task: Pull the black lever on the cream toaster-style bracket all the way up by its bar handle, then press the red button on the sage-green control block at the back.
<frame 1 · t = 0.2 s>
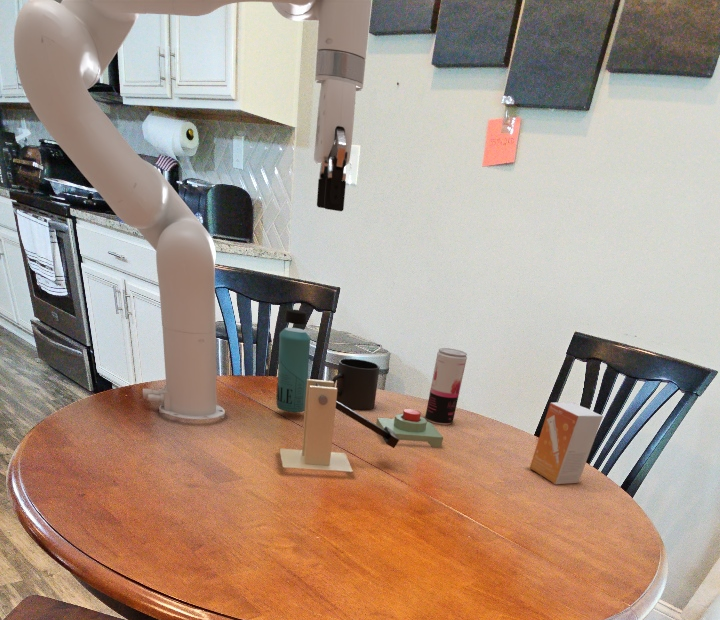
hand: (329, 209, 101), 37 cm above the table, tool pointing down, fingers open, 9 cm apart
lever: (355, 416, 99), point 9 cm above the table, hinge at -25.0°
mug: (350, 405, 138), on the table
beverage bottle: (290, 416, 126), on the table
beverage can: (438, 422, 137), on the table
button: (411, 415, 121), point 4 cm above the table, slide at 0.1 cm
small box: (553, 477, 116), on the table
control block: (407, 437, 124), on the table
bracket: (314, 466, 103), on the table
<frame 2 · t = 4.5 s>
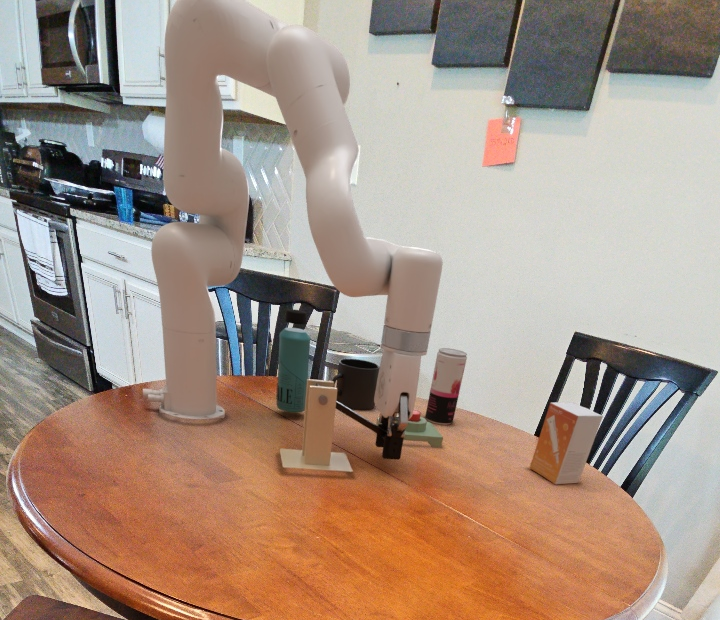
hand: (387, 451, 104), 4 cm above the table, tool pointing down, fingers closed on lever, 5 cm apart
lever: (355, 416, 99), point 9 cm above the table, hinge at -25.0°, touching gripper
everything else where it was.
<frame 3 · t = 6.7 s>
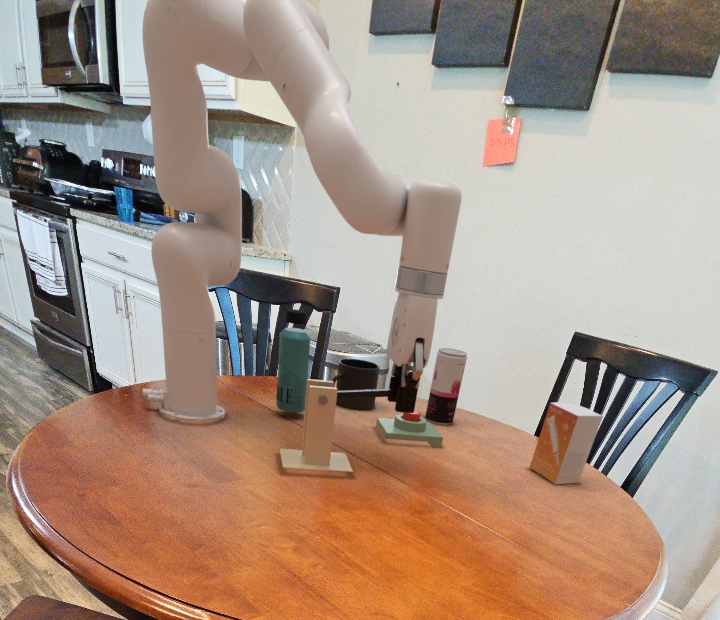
hand: (400, 405, 100), 12 cm above the table, tool pointing down, fingers closed on lever, 5 cm apart
lever: (361, 393, 97), point 13 cm above the table, hinge at 7.1°, touching gripper
everything else where it was.
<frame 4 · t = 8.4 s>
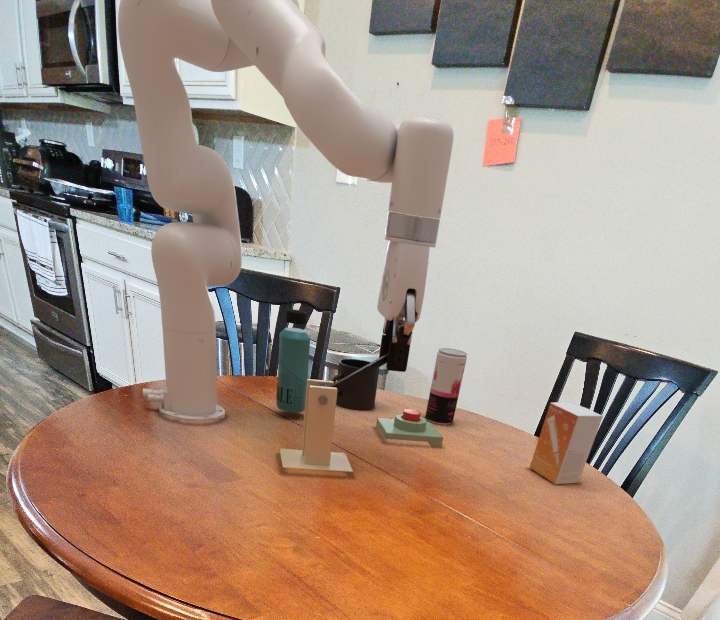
hand: (392, 365, 95), 18 cm above the table, tool pointing down, fingers closed on lever, 5 cm apart
lever: (357, 374, 95), point 16 cm above the table, hinge at 33.2°, touching gripper
everything else where it was.
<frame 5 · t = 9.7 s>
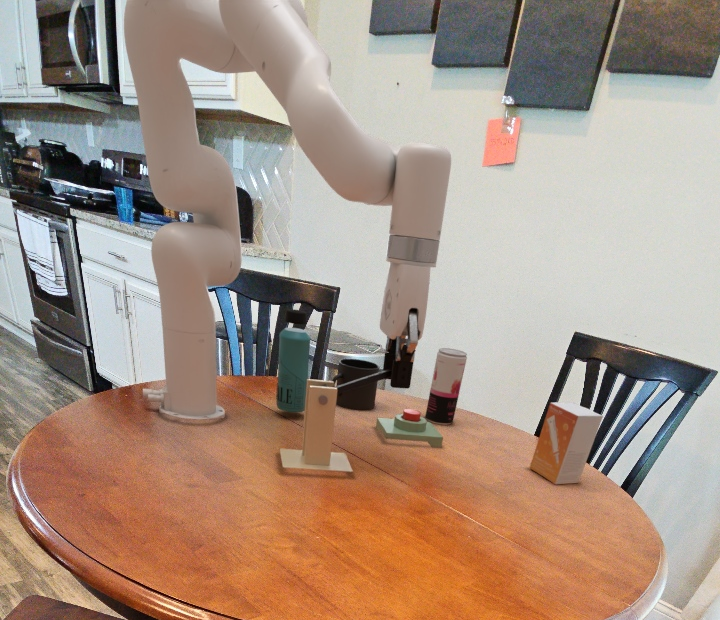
hand: (395, 382, 97), 15 cm above the table, tool pointing down, fingers closed on lever, 5 cm apart
lever: (359, 382, 96), point 15 cm above the table, hinge at 22.3°, touching gripper
everything else where it was.
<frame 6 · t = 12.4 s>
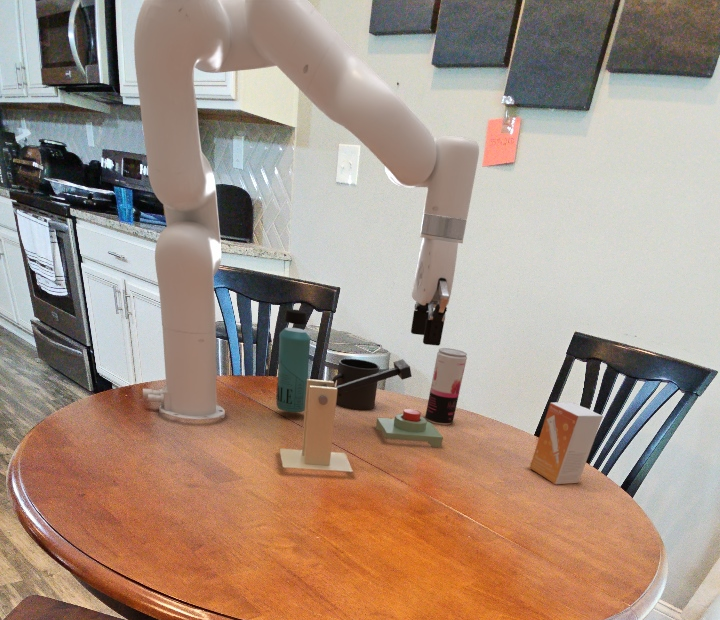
hand: (424, 339, 111), 19 cm above the table, tool pointing down, fingers open, 9 cm apart
lever: (360, 382, 96), point 15 cm above the table, hinge at 21.9°
everything else where it was.
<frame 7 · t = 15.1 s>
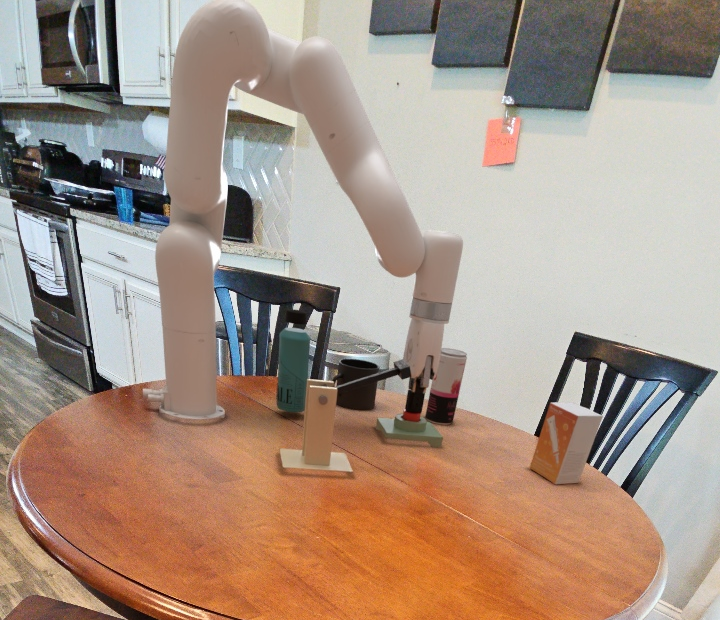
hand: (413, 411, 121), 5 cm above the table, tool pointing down, fingers closed
button: (411, 416, 121), point 4 cm above the table, slide at 0.1 cm, touching gripper
everything else where it was.
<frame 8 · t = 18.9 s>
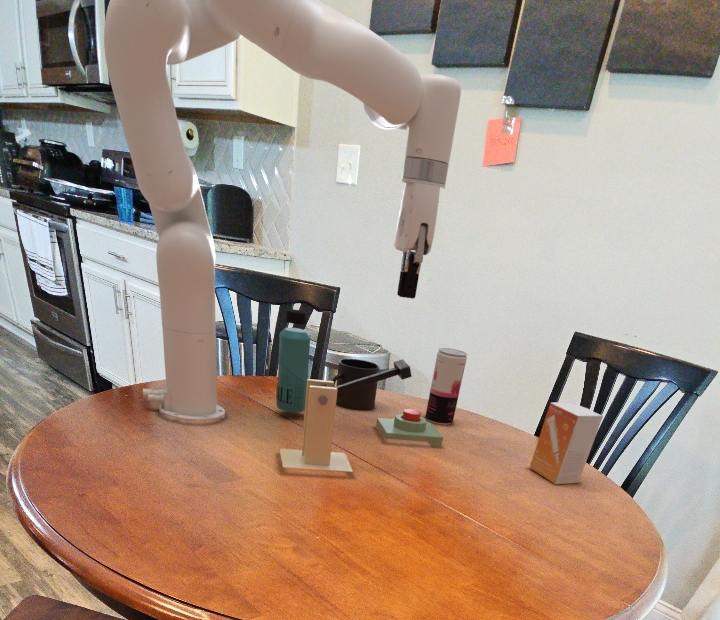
hand: (406, 296, 111), 25 cm above the table, tool pointing down, fingers closed
button: (411, 415, 121), point 4 cm above the table, slide at 0.1 cm
everything else where it was.
at the end: lever at +22° (first picture: -25°); button pushed in 1.1 cm at the most during the clip, back to where it started at the end; button slide at 0.1 cm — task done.
